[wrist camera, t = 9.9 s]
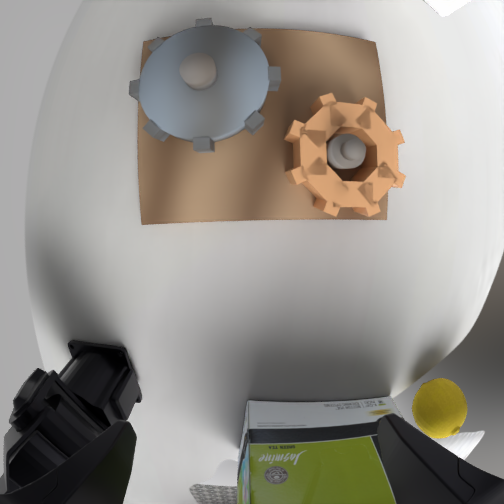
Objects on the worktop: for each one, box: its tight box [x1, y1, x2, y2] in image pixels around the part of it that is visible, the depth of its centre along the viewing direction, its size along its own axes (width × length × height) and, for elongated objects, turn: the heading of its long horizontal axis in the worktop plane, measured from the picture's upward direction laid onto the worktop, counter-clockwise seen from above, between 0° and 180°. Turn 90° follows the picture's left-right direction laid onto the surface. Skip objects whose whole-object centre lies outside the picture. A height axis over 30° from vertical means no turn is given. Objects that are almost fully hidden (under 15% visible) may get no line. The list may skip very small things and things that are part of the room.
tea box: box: [237, 396, 404, 504], centre depth 16 cm, size 15×10×15 cm, turn 83°
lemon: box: [412, 378, 467, 438], centre depth 18 cm, size 6×6×8 cm
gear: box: [284, 93, 406, 217], centre depth 14 cm, size 7×7×2 cm
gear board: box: [129, 18, 388, 225], centre depth 13 cm, size 16×13×5 cm
